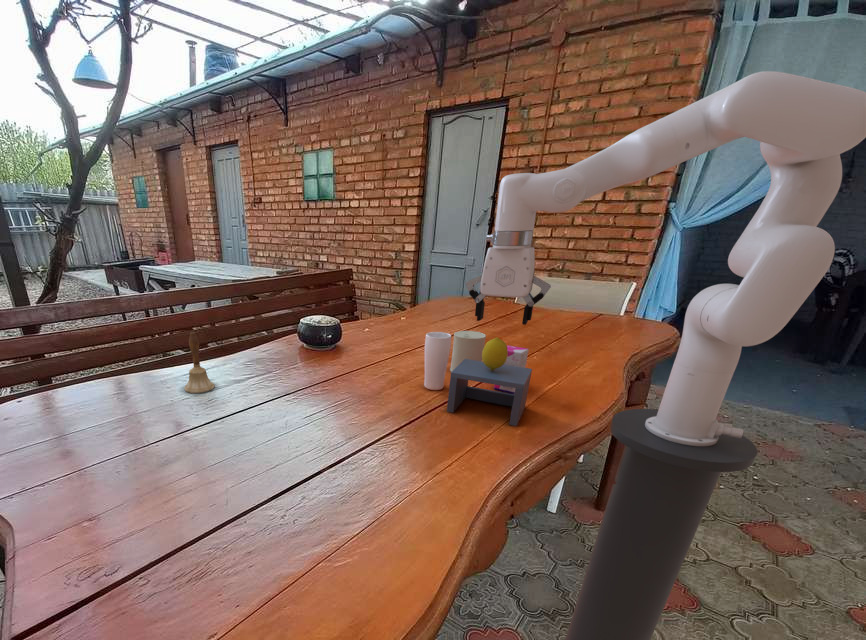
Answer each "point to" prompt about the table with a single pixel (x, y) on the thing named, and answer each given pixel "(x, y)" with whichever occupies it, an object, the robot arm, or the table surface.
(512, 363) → the supplement box
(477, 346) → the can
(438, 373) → the drinking glass
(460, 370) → the shelf
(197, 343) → the hand bell
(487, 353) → the lemon
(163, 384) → the table surface
